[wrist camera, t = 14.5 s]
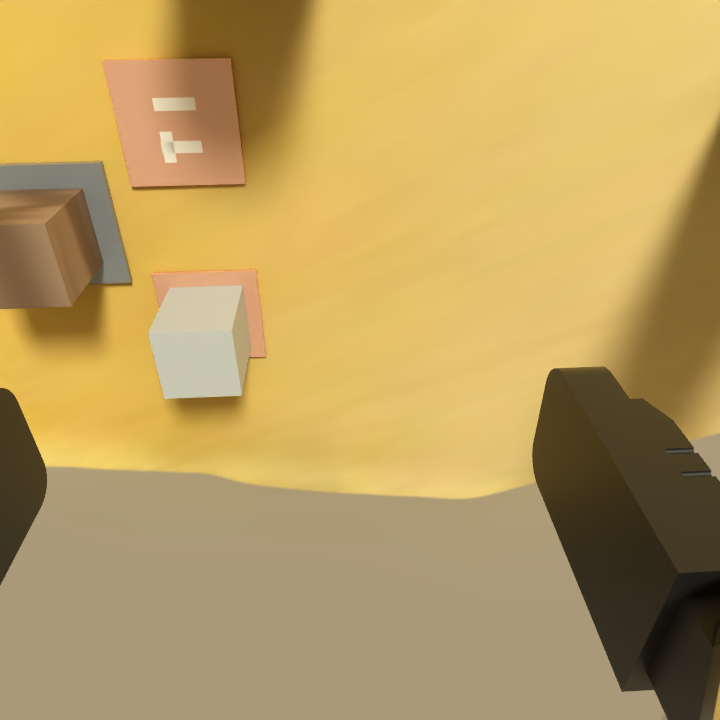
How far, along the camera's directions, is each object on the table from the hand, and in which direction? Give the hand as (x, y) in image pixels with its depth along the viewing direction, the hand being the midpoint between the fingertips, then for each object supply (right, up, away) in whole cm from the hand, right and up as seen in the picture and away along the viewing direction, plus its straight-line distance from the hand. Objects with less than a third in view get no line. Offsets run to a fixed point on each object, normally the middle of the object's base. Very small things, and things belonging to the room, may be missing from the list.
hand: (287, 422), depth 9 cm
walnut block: (-18, +9, +28) cm, 35 cm away
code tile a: (-10, +15, +26) cm, 31 cm away
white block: (-9, +4, +33) cm, 34 cm away
